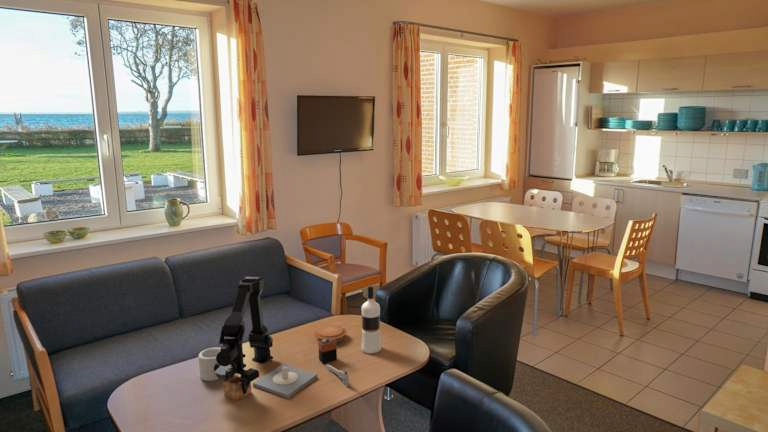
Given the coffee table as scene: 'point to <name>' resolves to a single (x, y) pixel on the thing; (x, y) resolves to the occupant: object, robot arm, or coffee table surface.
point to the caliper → (340, 374)
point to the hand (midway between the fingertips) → (237, 391)
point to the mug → (208, 363)
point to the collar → (235, 388)
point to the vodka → (371, 325)
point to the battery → (327, 350)
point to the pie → (330, 333)
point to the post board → (285, 380)
